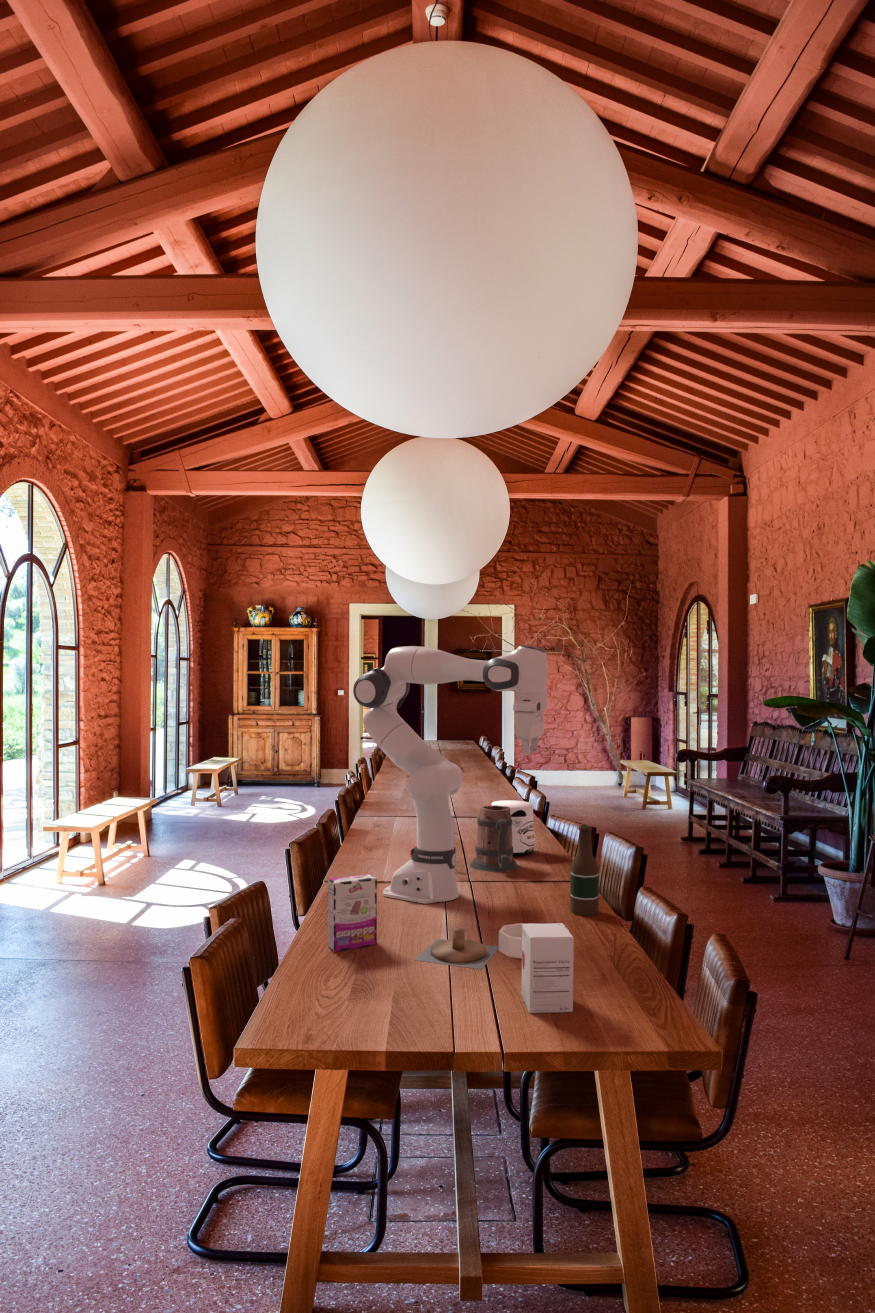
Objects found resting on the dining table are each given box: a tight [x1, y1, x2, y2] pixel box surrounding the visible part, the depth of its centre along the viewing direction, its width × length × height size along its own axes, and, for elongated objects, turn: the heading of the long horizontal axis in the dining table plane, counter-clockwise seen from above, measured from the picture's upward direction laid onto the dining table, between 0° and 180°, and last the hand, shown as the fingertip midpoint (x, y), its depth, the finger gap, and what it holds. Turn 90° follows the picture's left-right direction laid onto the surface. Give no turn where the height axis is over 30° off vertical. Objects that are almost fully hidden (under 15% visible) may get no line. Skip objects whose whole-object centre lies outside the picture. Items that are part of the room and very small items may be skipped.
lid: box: [431, 927, 486, 963], centre depth 193 cm, size 13×13×6 cm
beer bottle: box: [569, 824, 600, 917], centre depth 229 cm, size 8×8×24 cm
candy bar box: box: [327, 873, 378, 953], centre depth 199 cm, size 11×5×16 cm, turn 117°
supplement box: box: [521, 922, 575, 1014], centre depth 166 cm, size 9×9×15 cm
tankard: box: [468, 805, 520, 873], centre depth 279 cm, size 24×17×20 cm
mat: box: [414, 938, 499, 970], centre depth 193 cm, size 16×16×1 cm
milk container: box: [490, 799, 536, 856], centre depth 303 cm, size 17×17×18 cm
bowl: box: [498, 923, 525, 960], centre depth 196 cm, size 12×12×5 cm
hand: (530, 753), depth 229 cm, fingers open, 8 cm apart
